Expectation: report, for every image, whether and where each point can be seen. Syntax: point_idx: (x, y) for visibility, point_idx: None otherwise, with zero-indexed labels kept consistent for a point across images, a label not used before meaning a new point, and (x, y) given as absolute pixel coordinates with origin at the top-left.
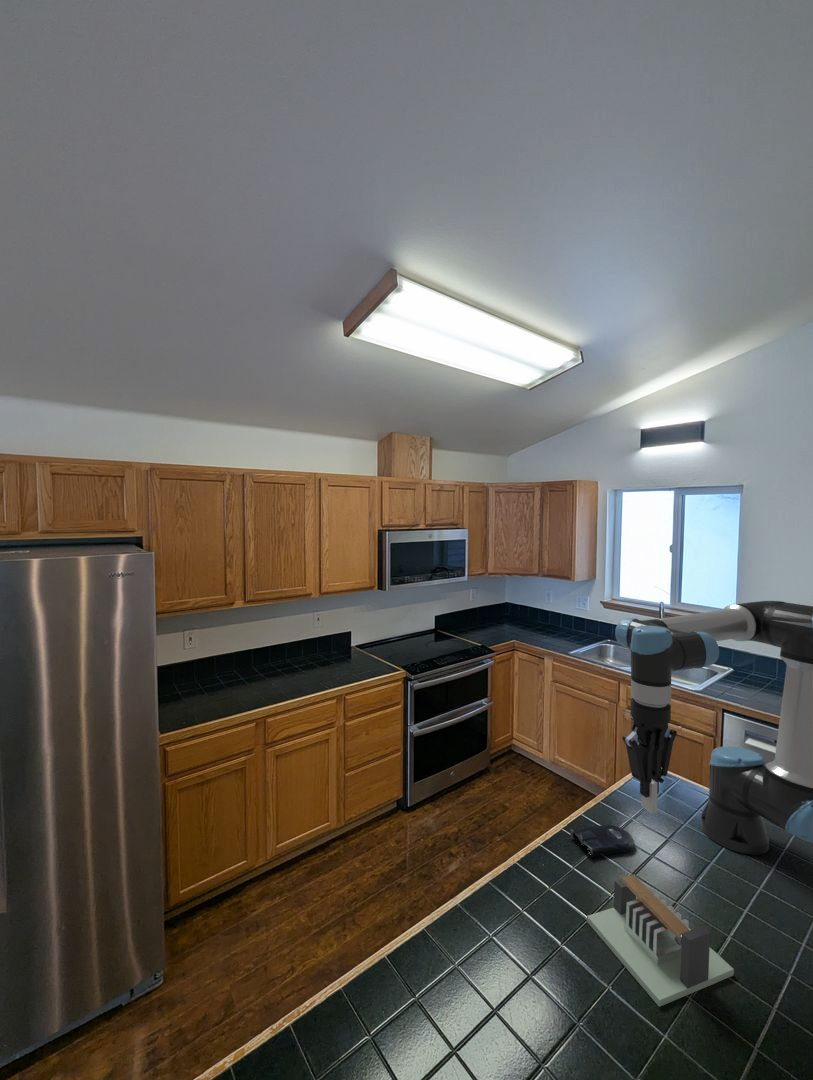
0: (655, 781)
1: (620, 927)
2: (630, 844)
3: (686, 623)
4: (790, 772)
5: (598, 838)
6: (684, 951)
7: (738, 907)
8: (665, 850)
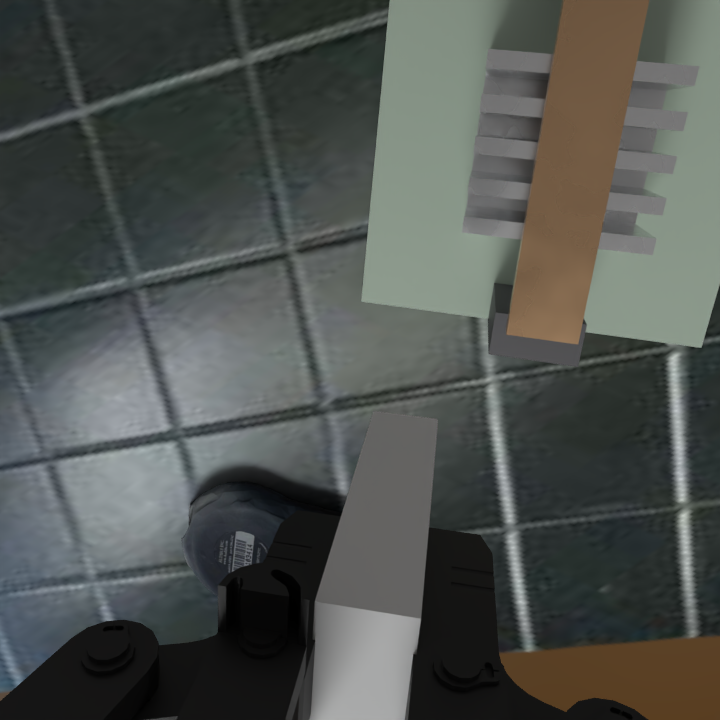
0: (317, 626)
1: (628, 253)
2: (228, 497)
3: None
4: None
5: None
6: None
7: (92, 133)
8: (108, 427)
